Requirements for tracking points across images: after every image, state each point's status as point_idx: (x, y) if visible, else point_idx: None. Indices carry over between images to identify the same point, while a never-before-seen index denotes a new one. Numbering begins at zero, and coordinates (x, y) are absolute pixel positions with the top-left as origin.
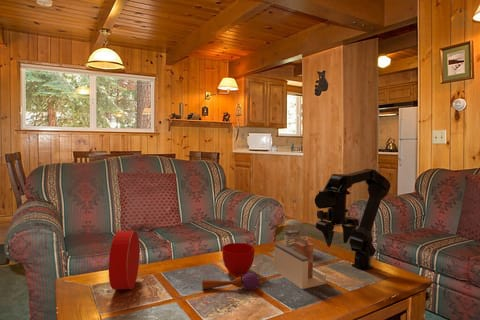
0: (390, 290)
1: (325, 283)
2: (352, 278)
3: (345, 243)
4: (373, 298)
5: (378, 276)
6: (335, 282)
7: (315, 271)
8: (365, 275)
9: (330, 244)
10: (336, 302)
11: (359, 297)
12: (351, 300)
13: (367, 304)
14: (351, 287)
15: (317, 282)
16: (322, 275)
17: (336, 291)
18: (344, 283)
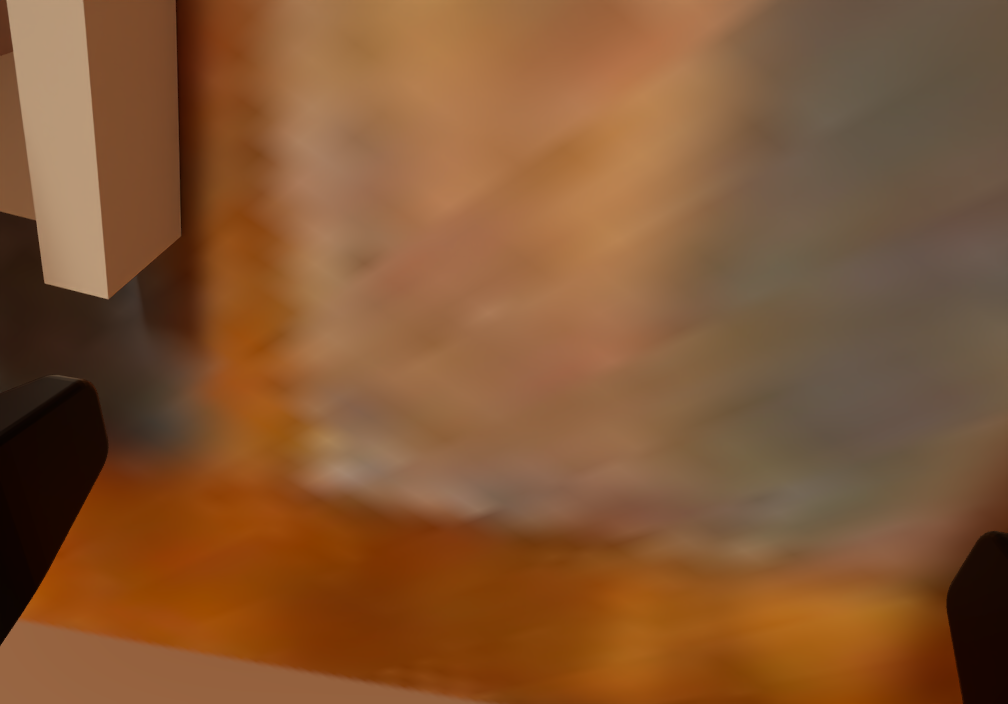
0: (667, 696)
1: (171, 235)
2: (646, 362)
3: (950, 589)
4: (378, 657)
5: None
6: (332, 288)
7: (25, 87)
8: (900, 422)
9: (21, 560)
10: None
11: (282, 589)
12: (170, 570)
13: (244, 659)
14: (393, 466)
15: (18, 204)
16: (48, 266)
17: (163, 416)
18: (412, 372)
